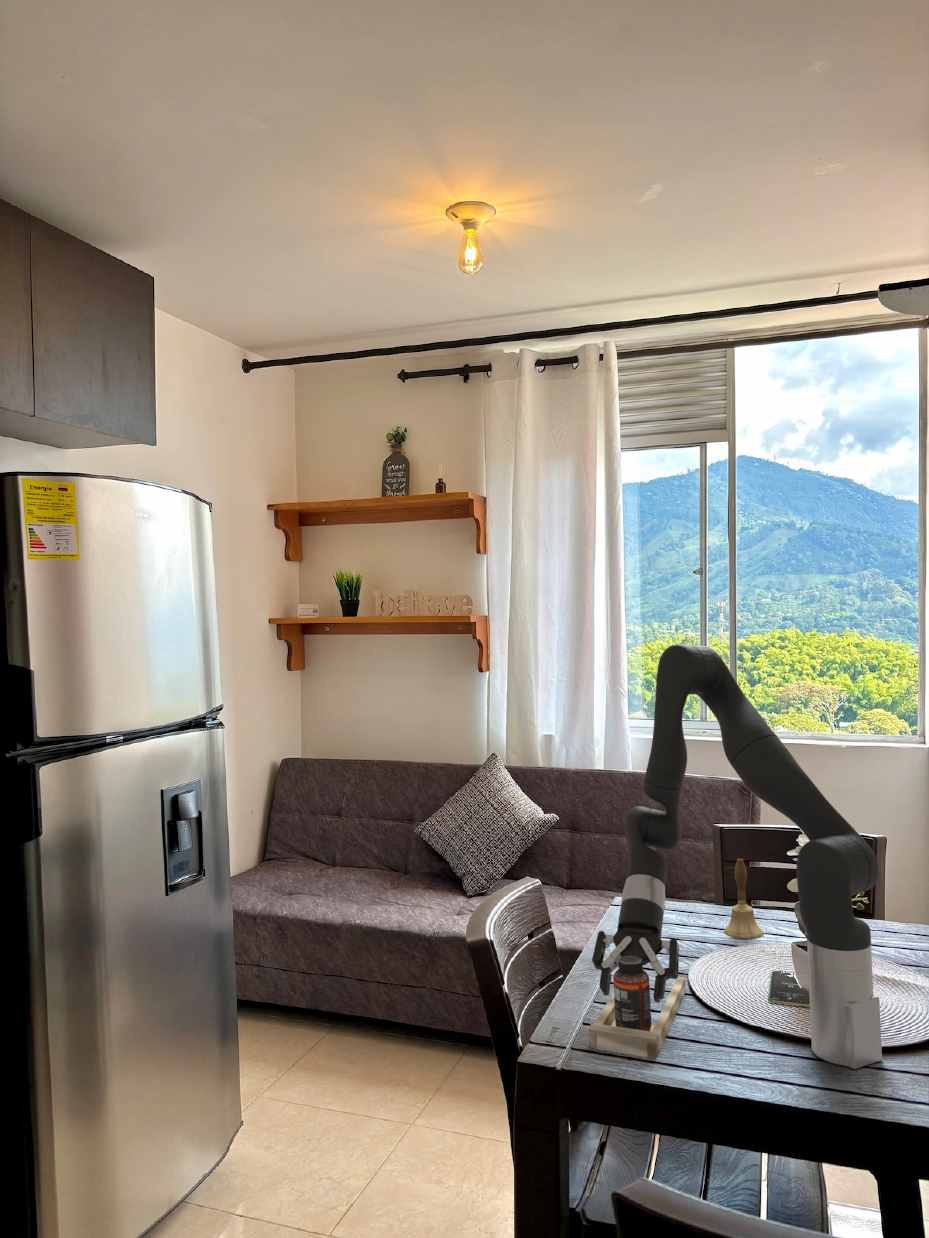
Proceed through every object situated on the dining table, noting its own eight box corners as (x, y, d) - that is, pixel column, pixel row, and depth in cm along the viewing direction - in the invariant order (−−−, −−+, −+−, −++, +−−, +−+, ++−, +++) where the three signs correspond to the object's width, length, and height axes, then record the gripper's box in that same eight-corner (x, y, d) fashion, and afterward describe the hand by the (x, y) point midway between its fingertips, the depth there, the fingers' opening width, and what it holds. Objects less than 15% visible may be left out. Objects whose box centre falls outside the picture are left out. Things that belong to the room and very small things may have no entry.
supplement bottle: (649, 1020, 148) (647, 952, 149) (653, 1036, 142) (650, 965, 143) (614, 1019, 149) (611, 952, 149) (616, 1035, 143) (613, 965, 143)
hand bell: (716, 931, 193) (713, 858, 194) (740, 923, 198) (737, 852, 198) (746, 941, 186) (743, 866, 187) (771, 933, 191) (768, 859, 191)
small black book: (813, 973, 166) (813, 1004, 152) (813, 978, 166) (813, 1010, 152) (771, 969, 169) (767, 999, 155) (771, 974, 169) (767, 1004, 155)
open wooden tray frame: (627, 983, 165) (627, 967, 166) (685, 990, 161) (685, 974, 161) (588, 1047, 140) (588, 1029, 140) (656, 1058, 135) (655, 1039, 136)
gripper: (598, 892, 156) (583, 981, 145) (679, 899, 150) (670, 992, 139) (607, 914, 161) (593, 1001, 150) (686, 921, 155) (677, 1012, 144)
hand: (630, 996), depth 145 cm, fingers open, 8 cm apart
